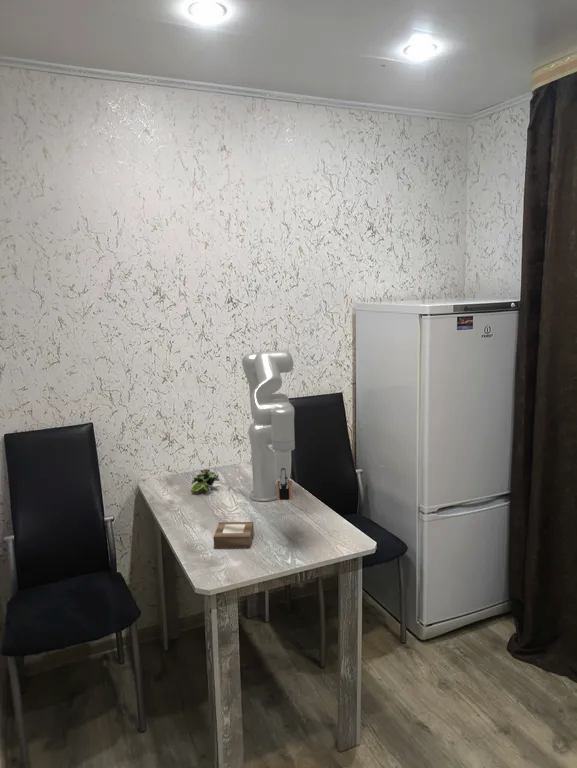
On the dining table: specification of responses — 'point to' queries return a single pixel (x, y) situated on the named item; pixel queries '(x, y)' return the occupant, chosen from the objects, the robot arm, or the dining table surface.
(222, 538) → the walnut frame
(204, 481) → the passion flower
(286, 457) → the robot arm
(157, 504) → the dining table surface
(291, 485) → the terracotta cube
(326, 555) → the dining table surface
